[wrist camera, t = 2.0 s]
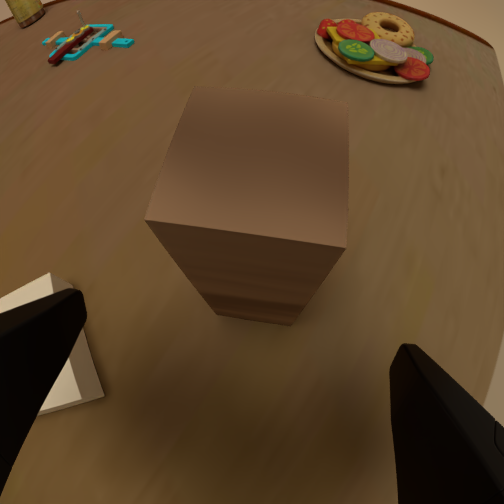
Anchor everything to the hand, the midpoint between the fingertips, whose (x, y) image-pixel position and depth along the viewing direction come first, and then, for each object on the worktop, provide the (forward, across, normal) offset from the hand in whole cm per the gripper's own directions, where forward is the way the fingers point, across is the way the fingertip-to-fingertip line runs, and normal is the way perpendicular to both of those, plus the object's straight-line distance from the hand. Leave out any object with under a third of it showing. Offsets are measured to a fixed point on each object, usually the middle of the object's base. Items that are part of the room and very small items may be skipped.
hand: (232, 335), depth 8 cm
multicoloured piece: (+31, +29, -14) cm, 45 cm away
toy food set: (+30, -9, -14) cm, 35 cm away
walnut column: (+11, 0, +5) cm, 12 cm away
